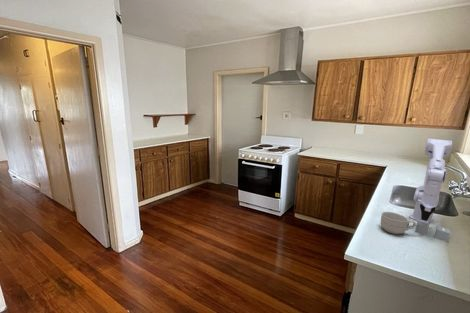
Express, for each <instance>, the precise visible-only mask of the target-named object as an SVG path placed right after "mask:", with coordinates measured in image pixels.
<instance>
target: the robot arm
mask: <svg viewBox="0 0 470 313" xmlns="http://www.w3.org/2000/svg"><path fill="white" fill-rule="evenodd" d="M452 147H453V141H452V140H449V139H447V140H446V139H438V138H436V139H435V138H427V139H426V143H425V147H424V148H425V149H424V154H425V155H426V156H427V157H428V163H427V167H426V172H425V177H424V182H423V185H420V186H418V187H416V189H415V192H414V195H413V201H414V202H415V205H414V209H413V214H411V215H409V217H408V218H411V220H412V219H413V220H414V221H421V222H425V223H428V224H430V223H431V222H433V221H434V218H433V216H434V212H435V211H436V208H437V206H438V205H439V202H440V201H439V200H440V193H441V190H442V188H443V187H442V186H443V184H444V183H445V181H446V178H447V170H446V160H444V158H447V156H449V154H450V152H451V150H452Z"/></svg>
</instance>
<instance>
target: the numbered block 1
mask: <svg viewBox="0 0 470 313" xmlns="http://www.w3.org/2000/svg"><path fill="white" fill-rule="evenodd" d="M450 235H451V230H450V229H449V228H445V227H442V226H439V225H437V226H436V228H435V232H434V239H436V240H440V241H443V242H445V243H448V242H449V239H450Z"/></svg>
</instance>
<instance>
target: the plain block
mask: <svg viewBox="0 0 470 313" xmlns="http://www.w3.org/2000/svg"><path fill="white" fill-rule="evenodd" d="M416 221H417V220H416ZM429 228H430V223H425V222H421V221H417V222H416V227H415V228H414V229H415V230H414V232H415V233H418V234H420V235H424V236H428V233H429Z"/></svg>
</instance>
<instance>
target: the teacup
mask: <svg viewBox="0 0 470 313" xmlns="http://www.w3.org/2000/svg"><path fill="white" fill-rule="evenodd" d="M406 217H407V216H405V215H403V214H400V213H397V212H392V211H383V212H381V217H380V226H381V227H382V229H383V230H384V231H386V232H387V233H390V234H392V235H401V234H403V233H405V232H406V231H407V230H412V229H415V228H416V225H417V222H416V220H414V219H413V220H412V219H410V220H408V218H409V217H408V218H406ZM408 223H409V224H410V223H412V225H411V226H409V227H407V225H408Z"/></svg>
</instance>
